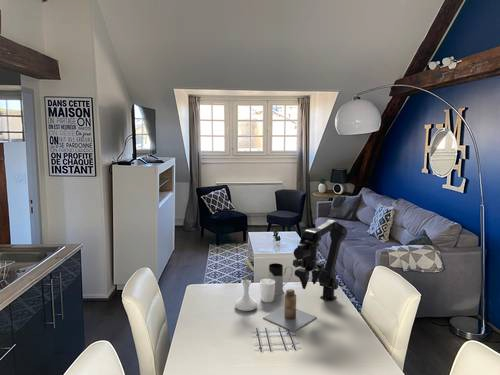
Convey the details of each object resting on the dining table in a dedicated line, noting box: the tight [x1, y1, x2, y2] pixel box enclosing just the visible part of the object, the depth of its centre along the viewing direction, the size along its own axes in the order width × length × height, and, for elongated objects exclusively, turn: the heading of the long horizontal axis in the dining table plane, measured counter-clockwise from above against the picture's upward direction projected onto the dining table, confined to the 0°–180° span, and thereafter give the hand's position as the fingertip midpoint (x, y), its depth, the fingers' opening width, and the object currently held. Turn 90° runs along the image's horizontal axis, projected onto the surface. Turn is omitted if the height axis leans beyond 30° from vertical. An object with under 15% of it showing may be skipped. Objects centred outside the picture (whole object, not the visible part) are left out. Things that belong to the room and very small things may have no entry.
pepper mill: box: [284, 288, 297, 320], centre depth 180 cm, size 5×5×13 cm
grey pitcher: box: [268, 262, 293, 296], centre depth 210 cm, size 9×14×15 cm, turn 107°
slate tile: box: [262, 305, 318, 333], centre depth 181 cm, size 18×18×1 cm
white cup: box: [259, 278, 275, 303], centre depth 200 cm, size 8×8×10 cm
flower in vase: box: [234, 257, 258, 312], centre depth 190 cm, size 13×11×25 cm
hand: (309, 286), depth 188 cm, fingers open, 9 cm apart
